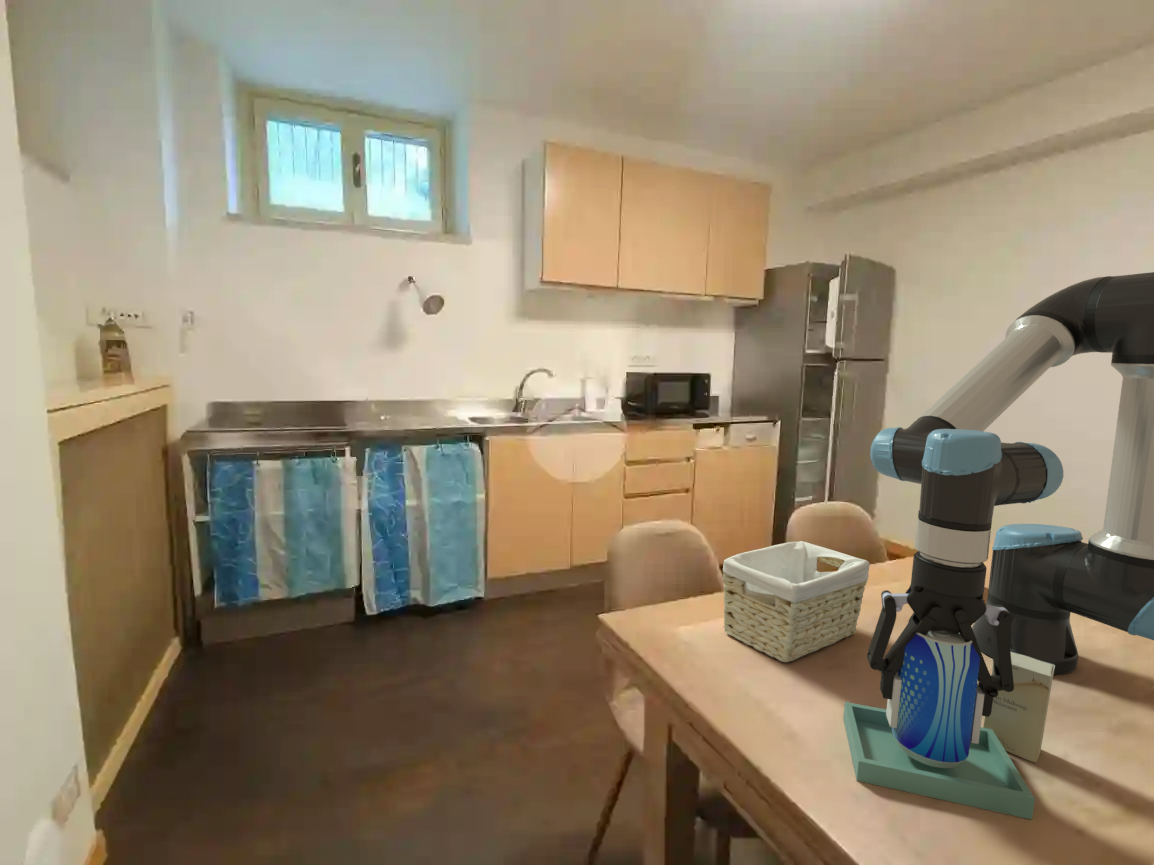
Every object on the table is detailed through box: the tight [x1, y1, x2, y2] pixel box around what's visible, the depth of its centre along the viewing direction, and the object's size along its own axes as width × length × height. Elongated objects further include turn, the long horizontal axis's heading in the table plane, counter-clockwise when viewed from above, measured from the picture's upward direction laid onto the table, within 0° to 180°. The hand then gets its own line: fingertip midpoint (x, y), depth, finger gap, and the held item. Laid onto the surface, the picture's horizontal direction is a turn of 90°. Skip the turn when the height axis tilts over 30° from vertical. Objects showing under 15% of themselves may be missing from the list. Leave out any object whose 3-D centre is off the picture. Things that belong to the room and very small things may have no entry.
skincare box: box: [982, 651, 1055, 764], centre depth 77 cm, size 6×4×12 cm
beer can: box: [892, 630, 980, 768], centre depth 73 cm, size 8×8×16 cm
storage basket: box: [722, 540, 870, 663], centre depth 108 cm, size 24×16×15 cm
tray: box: [842, 701, 1036, 821], centre depth 74 cm, size 18×13×3 cm
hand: (930, 728), depth 74 cm, fingers closed on beer can, 8 cm apart
